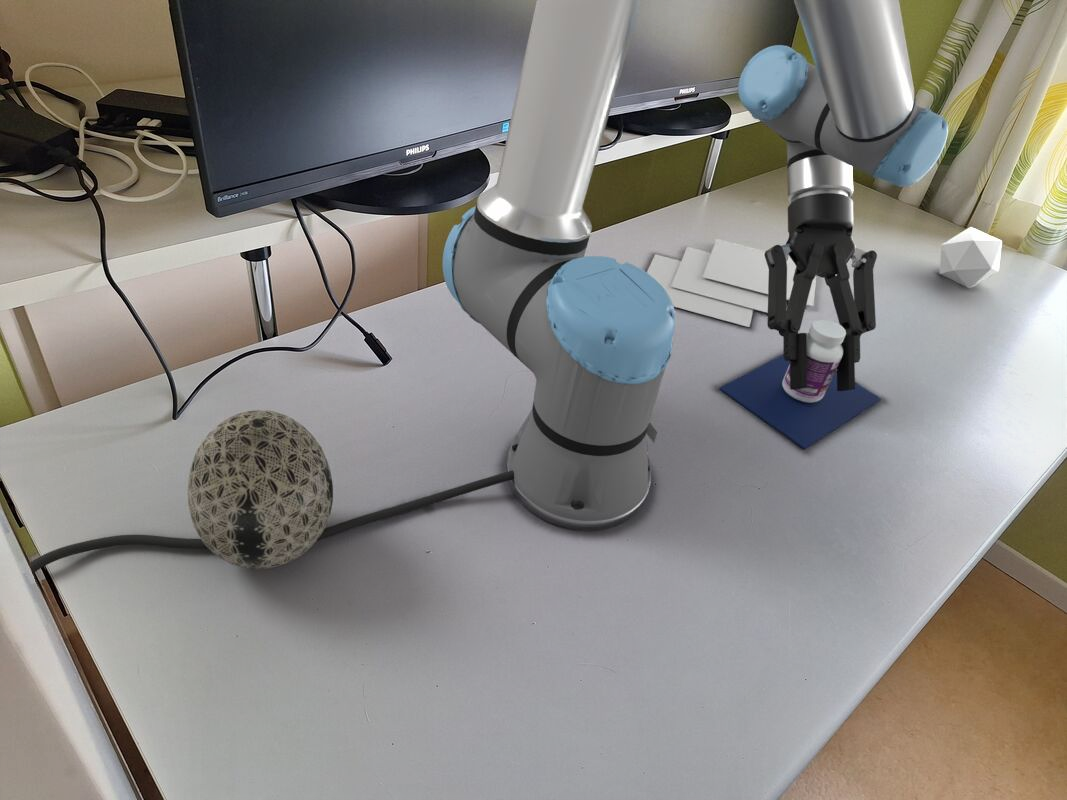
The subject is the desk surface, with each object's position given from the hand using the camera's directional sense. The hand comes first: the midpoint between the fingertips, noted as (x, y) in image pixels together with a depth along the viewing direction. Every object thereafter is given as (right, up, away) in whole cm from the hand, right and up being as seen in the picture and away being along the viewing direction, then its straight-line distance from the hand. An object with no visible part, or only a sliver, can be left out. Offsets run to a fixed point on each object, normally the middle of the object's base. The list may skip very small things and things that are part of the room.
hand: (822, 388), depth 91 cm
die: (+36, +19, +35) cm, 54 cm away
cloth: (-1, -1, +5) cm, 5 cm away
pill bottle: (-1, 0, +5) cm, 5 cm away
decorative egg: (-59, -15, -21) cm, 64 cm away
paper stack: (-4, +17, +26) cm, 31 cm away
